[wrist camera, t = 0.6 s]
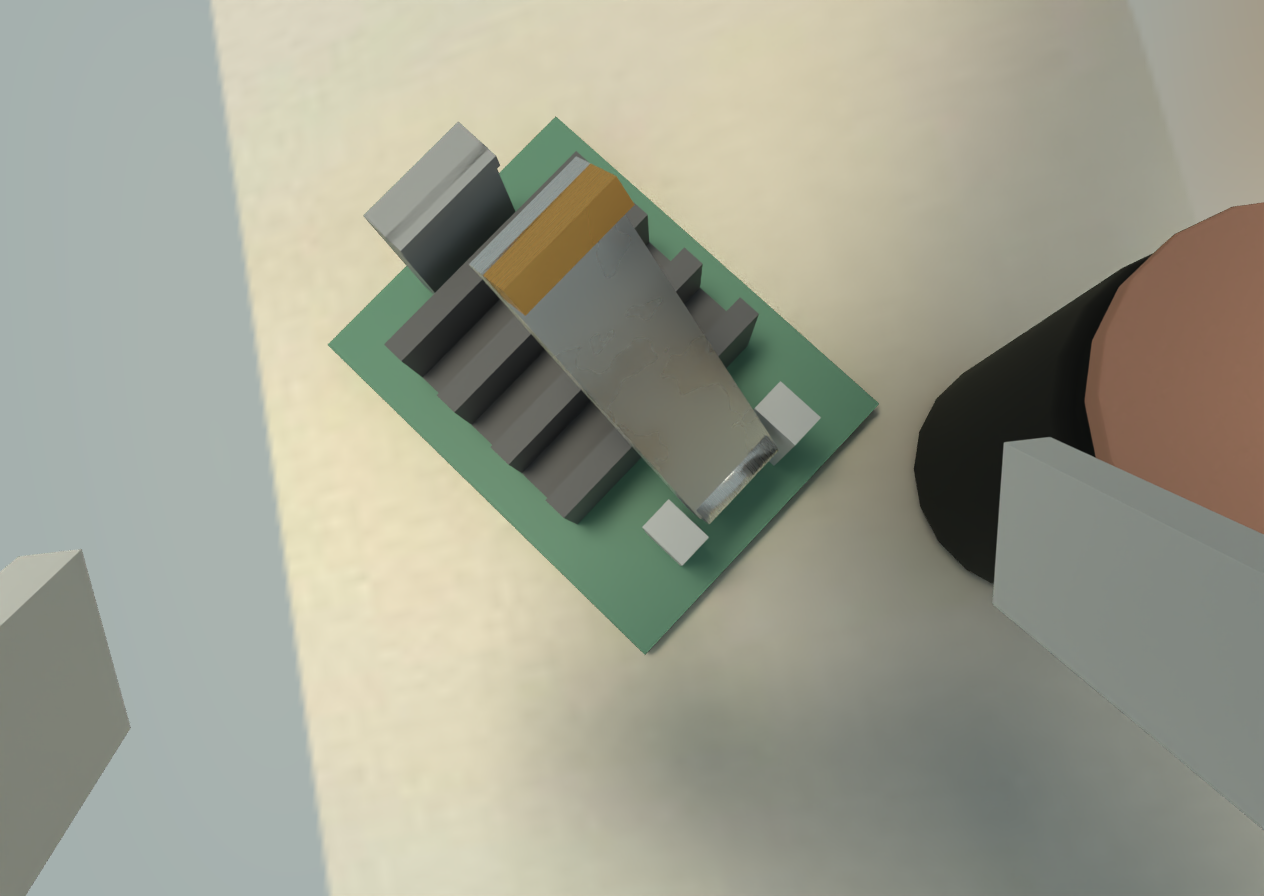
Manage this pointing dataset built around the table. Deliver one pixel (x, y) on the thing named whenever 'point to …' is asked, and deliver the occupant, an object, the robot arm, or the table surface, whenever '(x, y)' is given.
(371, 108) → the table surface
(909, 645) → the table surface
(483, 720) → the table surface
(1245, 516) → the coffee jar
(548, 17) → the table surface
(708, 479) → the silver flat bar
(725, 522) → the cpu board
